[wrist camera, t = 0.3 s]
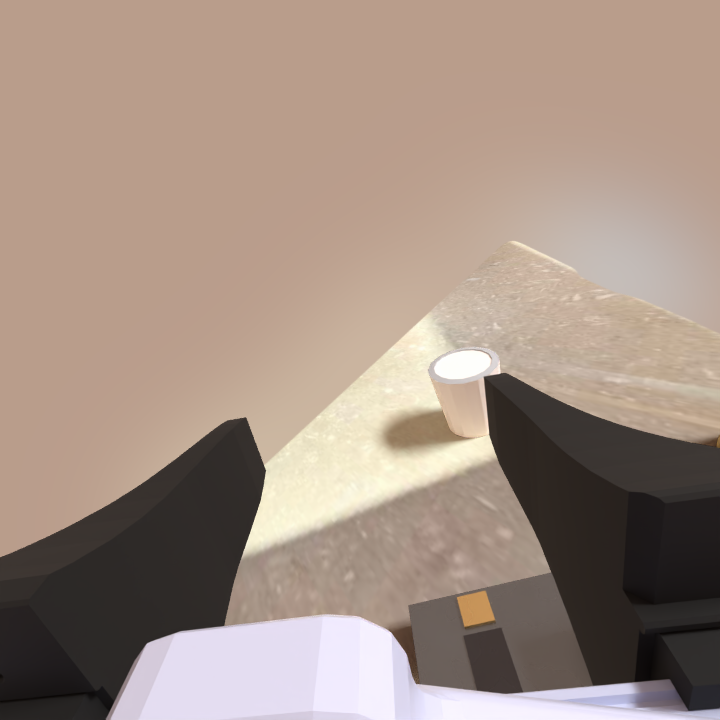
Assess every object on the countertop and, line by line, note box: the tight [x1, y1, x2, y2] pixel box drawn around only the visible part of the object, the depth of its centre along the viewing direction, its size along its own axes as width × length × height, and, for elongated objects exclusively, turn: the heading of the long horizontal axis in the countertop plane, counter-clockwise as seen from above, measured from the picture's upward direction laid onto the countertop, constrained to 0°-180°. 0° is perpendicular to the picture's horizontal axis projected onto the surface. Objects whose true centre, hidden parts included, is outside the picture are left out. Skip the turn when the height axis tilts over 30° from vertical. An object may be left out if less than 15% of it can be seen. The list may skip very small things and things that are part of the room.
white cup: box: [428, 347, 500, 438], centre depth 42 cm, size 7×7×7 cm
